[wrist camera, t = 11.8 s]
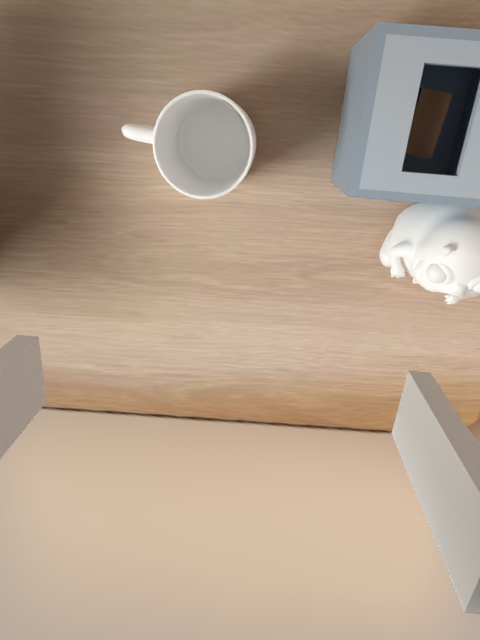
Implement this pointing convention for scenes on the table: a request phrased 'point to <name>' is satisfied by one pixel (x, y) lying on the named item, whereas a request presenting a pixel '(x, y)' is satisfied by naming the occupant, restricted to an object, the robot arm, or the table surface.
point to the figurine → (436, 249)
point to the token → (427, 121)
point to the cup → (200, 143)
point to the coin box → (410, 116)
